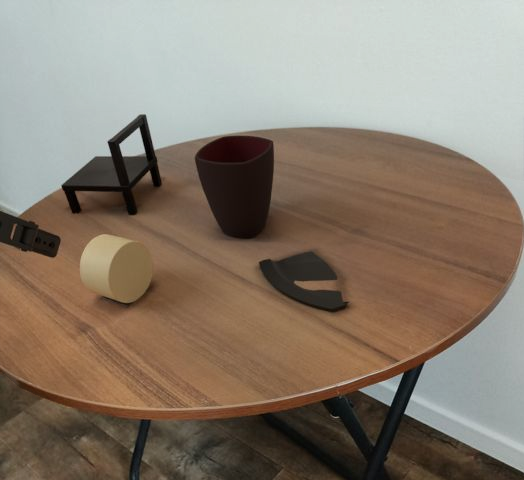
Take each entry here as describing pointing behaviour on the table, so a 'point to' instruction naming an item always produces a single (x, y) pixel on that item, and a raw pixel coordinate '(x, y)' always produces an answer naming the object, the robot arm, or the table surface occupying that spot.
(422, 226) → the table surface
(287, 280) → the fan shaped piece
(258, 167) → the cup
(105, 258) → the short beige cylinder
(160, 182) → the chair
